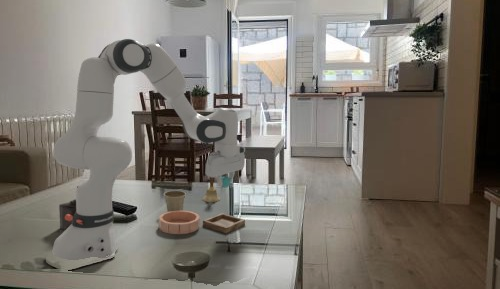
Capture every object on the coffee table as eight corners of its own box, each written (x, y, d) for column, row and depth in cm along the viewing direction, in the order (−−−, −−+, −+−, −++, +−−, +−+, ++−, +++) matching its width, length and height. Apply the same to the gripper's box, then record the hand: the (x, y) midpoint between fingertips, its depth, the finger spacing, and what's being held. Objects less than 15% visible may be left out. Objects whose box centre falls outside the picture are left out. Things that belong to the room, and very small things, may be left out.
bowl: (179, 237, 154) (179, 227, 154) (150, 227, 163) (150, 217, 163) (207, 226, 167) (207, 216, 166) (179, 217, 176) (179, 207, 175)
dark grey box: (57, 228, 159) (55, 182, 156) (83, 220, 168) (82, 177, 164) (81, 239, 150) (79, 190, 147) (107, 230, 159) (106, 184, 156)
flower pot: (164, 217, 175) (164, 197, 173) (162, 210, 184) (162, 191, 182) (187, 216, 177) (187, 196, 176) (184, 208, 186) (184, 190, 185)
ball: (225, 189, 163) (226, 178, 162) (216, 187, 166) (217, 176, 165) (232, 187, 167) (233, 176, 166) (224, 185, 169) (224, 174, 168)
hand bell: (219, 202, 197) (220, 169, 194) (201, 201, 197) (202, 168, 194) (220, 197, 205) (221, 165, 202) (203, 196, 205) (204, 164, 203)
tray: (226, 233, 160) (226, 228, 160) (202, 225, 167) (202, 220, 167) (244, 224, 170) (245, 219, 170) (222, 217, 177) (222, 213, 177)
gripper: (214, 154, 153) (213, 191, 156) (247, 147, 170) (246, 180, 172) (201, 152, 157) (201, 187, 159) (235, 145, 173) (234, 177, 176)
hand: (225, 184), depth 166 cm, fingers closed on ball, 4 cm apart
